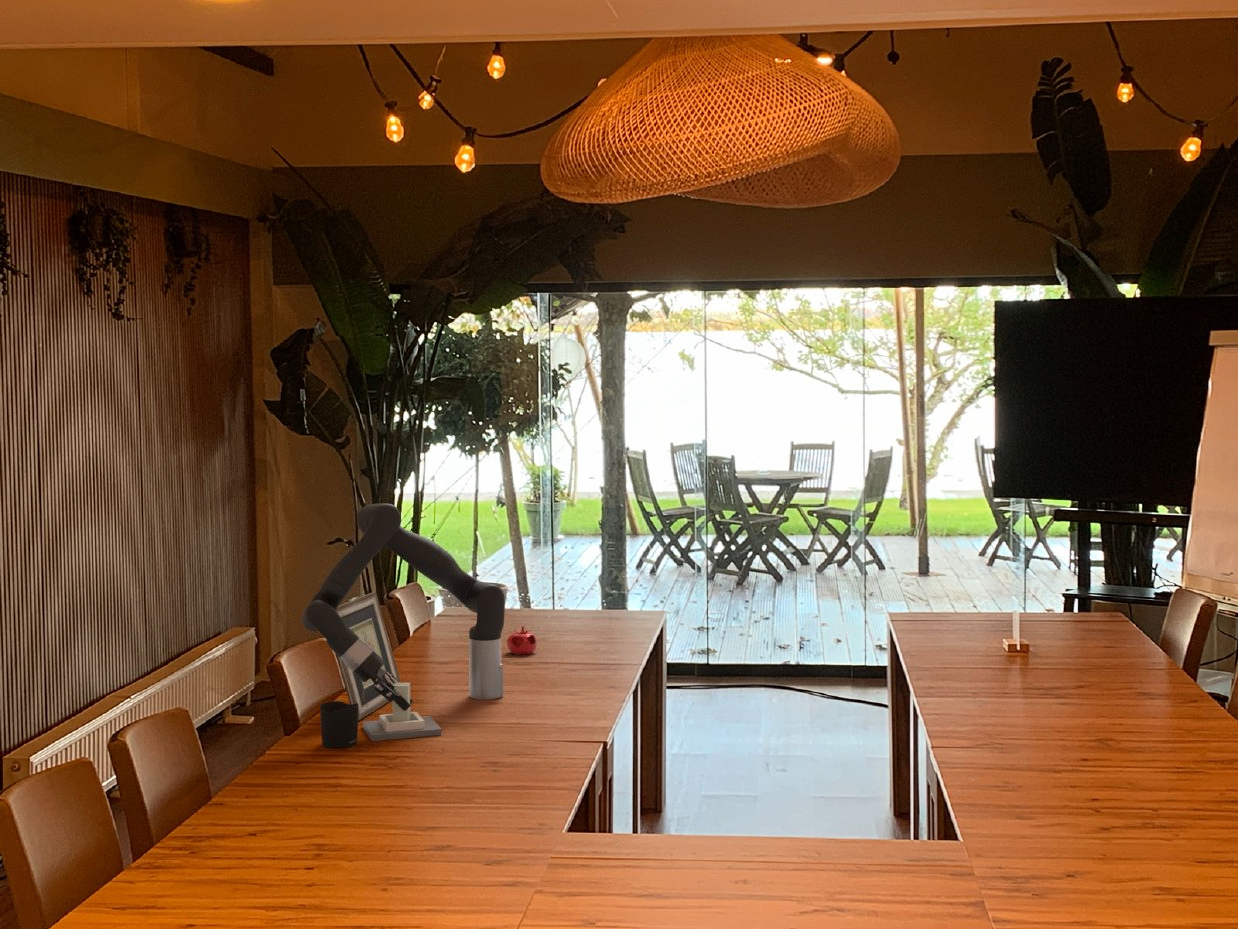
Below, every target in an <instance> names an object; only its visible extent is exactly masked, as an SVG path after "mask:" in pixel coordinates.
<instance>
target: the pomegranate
mask: <svg viewBox="0 0 1238 929" xmlns="http://www.w3.org/2000/svg"><path fill="white" fill-rule="evenodd" d="M525 627H526V626H525V625H522V626H521V631H520V630H519V629H517V628H516V629H515V630H513V631H512V632H511V635H509V636H508V638H507V639H506V644H507V649H508V651H510V653H512V654H514V655H516V654H520V655H519V656H521V655H530V654H533V653H534V652H535V651H536V648H537V639H536V635H534V634H533V633H529V632H532V630H529V629H527V630H526V631H524V630H525ZM512 633H513V634H512Z"/></svg>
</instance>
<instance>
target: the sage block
mask: <svg viewBox="0 0 1238 929" xmlns="http://www.w3.org/2000/svg"><path fill="white" fill-rule="evenodd" d="M394 685H395V690H397V691H398V692H399V693H400V696H402V697H403V698H404V699H405V700H406V701H407V702H408V703H409V704H410V698H411V682H401V683H394ZM391 703H392V705H391V706H392V713H391V714H392V722H403V721H410V712H411V706H410V707H409V708H408V709H407V710H406V711H403V710H402V709H401V708H400V707H399V706H398V705H397V704H396V703H395V701H394V702H393V701H391ZM410 705H411V704H410Z"/></svg>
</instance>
